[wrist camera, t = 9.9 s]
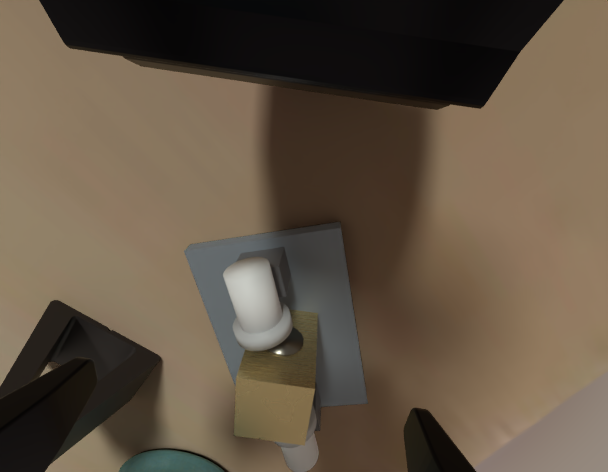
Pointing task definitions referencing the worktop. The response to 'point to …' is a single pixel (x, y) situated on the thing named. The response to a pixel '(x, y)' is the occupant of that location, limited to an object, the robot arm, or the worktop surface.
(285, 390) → the tan block
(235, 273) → the grey plate with pegs
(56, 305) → the phone stand
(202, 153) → the worktop surface
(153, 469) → the flower pot
